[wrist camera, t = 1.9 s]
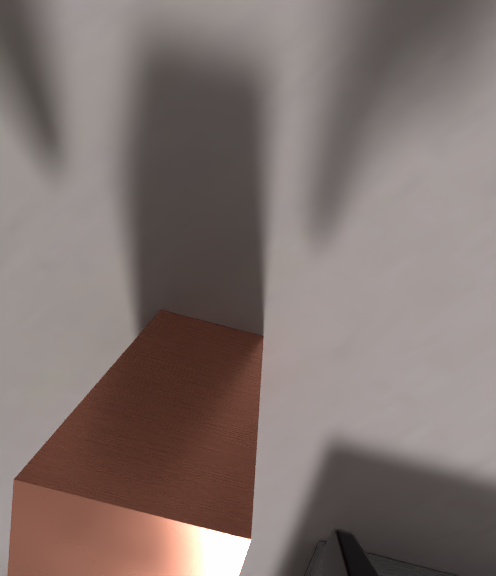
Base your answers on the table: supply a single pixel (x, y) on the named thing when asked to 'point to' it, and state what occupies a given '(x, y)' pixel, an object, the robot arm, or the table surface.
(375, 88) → the table surface
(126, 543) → the square peg
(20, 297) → the table surface
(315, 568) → the square frame with handle
